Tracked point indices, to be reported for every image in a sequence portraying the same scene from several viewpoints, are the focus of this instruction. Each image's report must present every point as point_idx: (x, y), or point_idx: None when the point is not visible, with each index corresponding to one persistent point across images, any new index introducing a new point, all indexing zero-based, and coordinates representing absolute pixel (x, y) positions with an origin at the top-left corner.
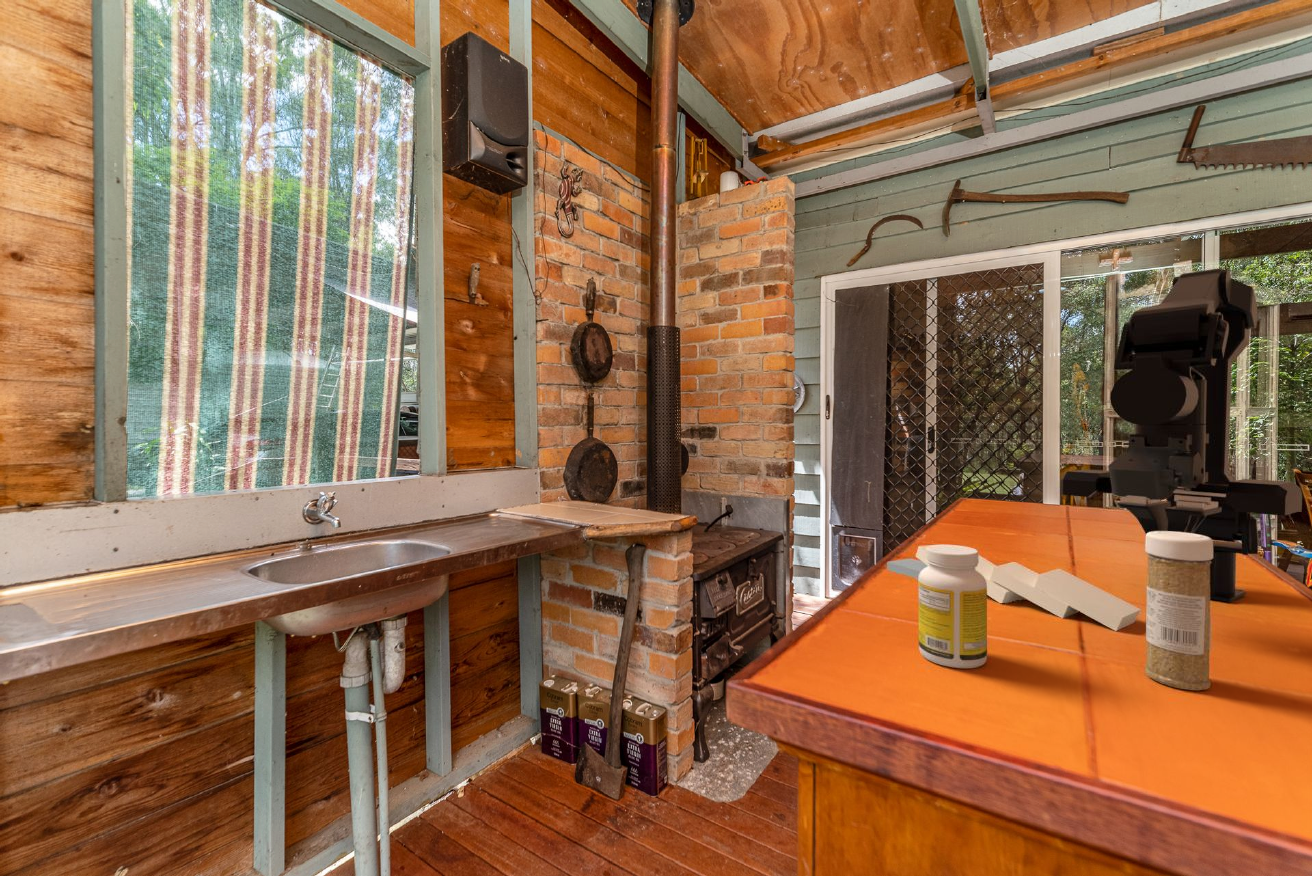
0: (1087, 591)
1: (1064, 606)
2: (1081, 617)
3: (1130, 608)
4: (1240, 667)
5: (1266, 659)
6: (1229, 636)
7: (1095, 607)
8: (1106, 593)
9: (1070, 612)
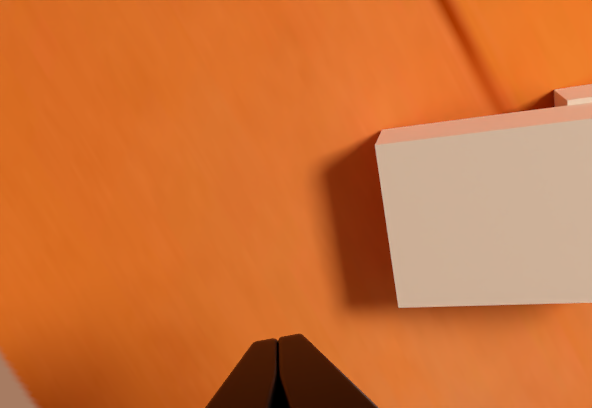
0: (564, 209)
1: (576, 97)
2: None
3: (414, 270)
4: (21, 155)
5: (47, 298)
6: (206, 404)
7: (475, 129)
8: (522, 293)
9: None
